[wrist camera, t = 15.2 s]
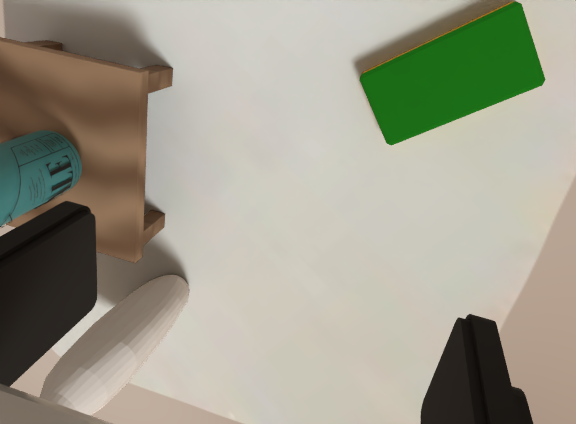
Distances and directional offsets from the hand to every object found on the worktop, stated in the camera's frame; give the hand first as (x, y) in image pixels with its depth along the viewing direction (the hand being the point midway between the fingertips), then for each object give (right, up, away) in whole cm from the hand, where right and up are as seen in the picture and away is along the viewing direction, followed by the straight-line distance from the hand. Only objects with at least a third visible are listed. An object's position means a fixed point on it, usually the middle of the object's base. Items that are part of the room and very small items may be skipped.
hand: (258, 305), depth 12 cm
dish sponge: (+15, +15, +31) cm, 38 cm away
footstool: (-20, +11, +42) cm, 47 cm away
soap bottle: (-15, -9, +49) cm, 52 cm away
